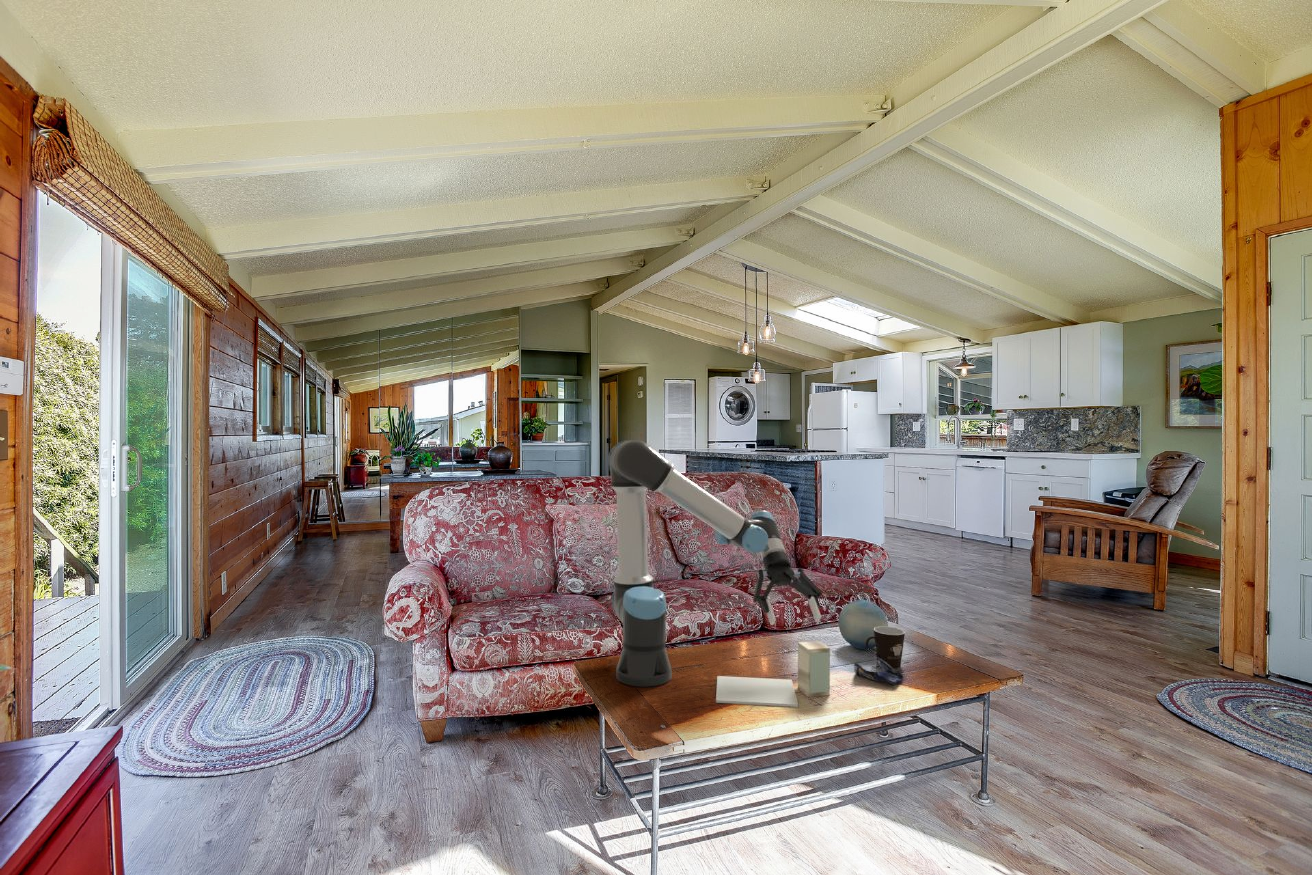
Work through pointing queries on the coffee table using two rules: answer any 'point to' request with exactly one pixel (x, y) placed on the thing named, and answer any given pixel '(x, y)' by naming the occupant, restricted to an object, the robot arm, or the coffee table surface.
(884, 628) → the coffee mug
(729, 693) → the mat
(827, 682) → the birch block
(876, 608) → the decorative ball
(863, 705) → the coffee table surface
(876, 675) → the snack package
